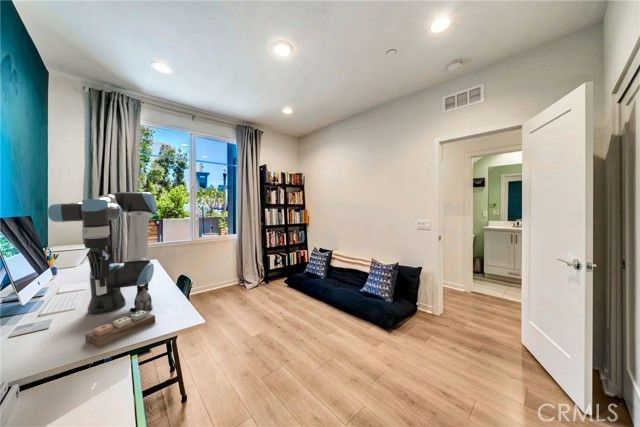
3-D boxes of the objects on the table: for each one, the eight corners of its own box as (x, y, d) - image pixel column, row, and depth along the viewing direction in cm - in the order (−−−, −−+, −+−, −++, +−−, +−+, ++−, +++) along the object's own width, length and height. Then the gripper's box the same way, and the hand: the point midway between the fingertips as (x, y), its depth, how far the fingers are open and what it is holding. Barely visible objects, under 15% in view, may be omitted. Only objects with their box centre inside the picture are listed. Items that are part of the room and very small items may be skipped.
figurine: (131, 318, 114) (129, 288, 114) (127, 311, 121) (125, 283, 120) (154, 310, 122) (153, 282, 121) (149, 305, 128) (147, 278, 127)
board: (85, 342, 95) (85, 334, 95) (142, 318, 114) (142, 311, 114) (98, 348, 91) (97, 340, 90) (155, 322, 110) (154, 315, 110)
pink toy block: (94, 340, 95) (94, 328, 95) (108, 335, 99) (107, 323, 99) (100, 343, 93) (99, 330, 93) (113, 337, 97) (113, 325, 97)
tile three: (131, 325, 107) (130, 314, 107) (142, 320, 111) (141, 309, 111) (137, 327, 105) (136, 315, 105) (147, 322, 109) (146, 311, 109)
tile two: (114, 332, 101) (113, 320, 101) (126, 327, 105) (125, 316, 105) (119, 334, 99) (119, 322, 99) (131, 329, 103) (131, 318, 103)
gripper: (76, 237, 93) (81, 294, 95) (93, 239, 88) (98, 300, 89) (100, 234, 100) (104, 288, 102) (117, 236, 94) (121, 293, 96)
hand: (101, 293), depth 95 cm, fingers closed
